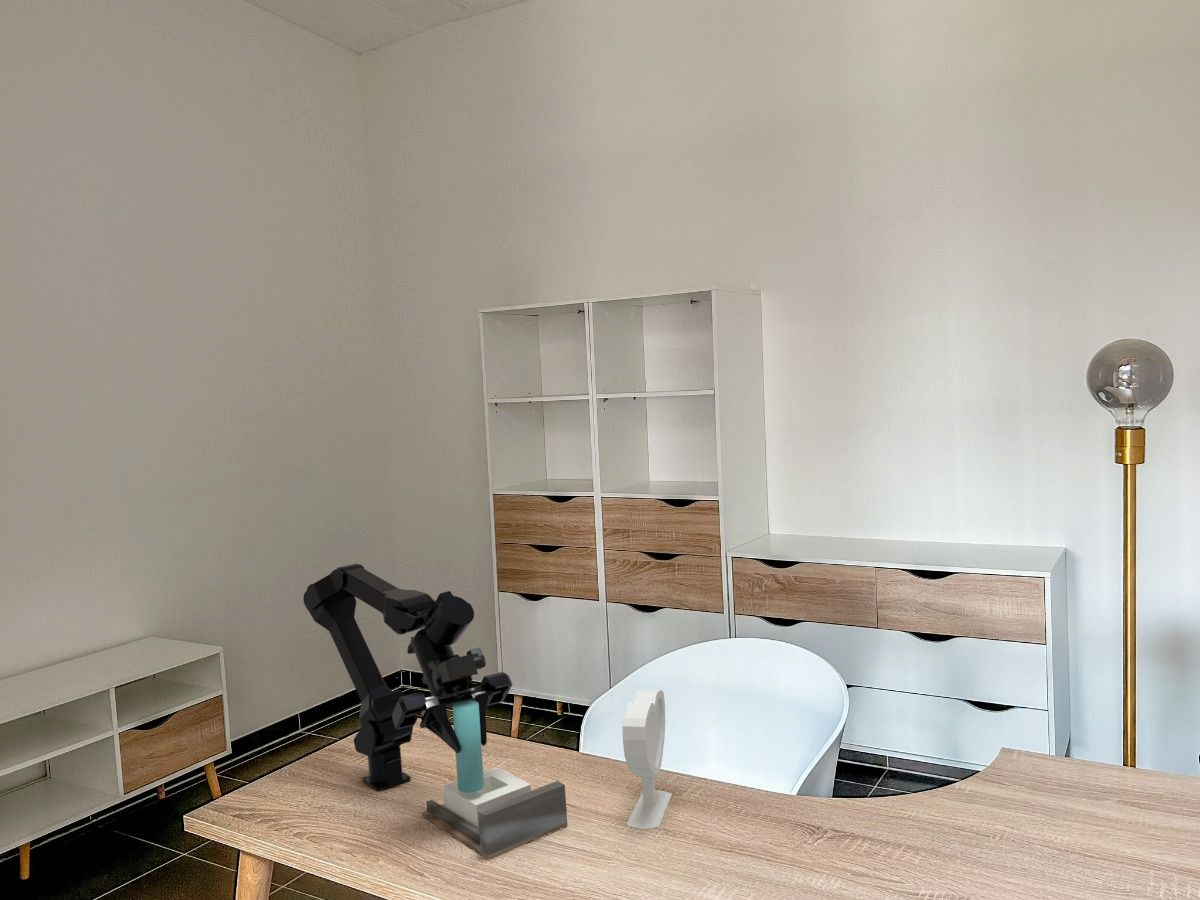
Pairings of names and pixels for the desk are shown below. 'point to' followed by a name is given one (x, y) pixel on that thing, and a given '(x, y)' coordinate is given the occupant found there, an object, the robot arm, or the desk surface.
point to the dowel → (468, 746)
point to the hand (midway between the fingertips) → (472, 748)
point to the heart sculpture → (646, 754)
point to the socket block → (483, 794)
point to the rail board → (506, 820)
